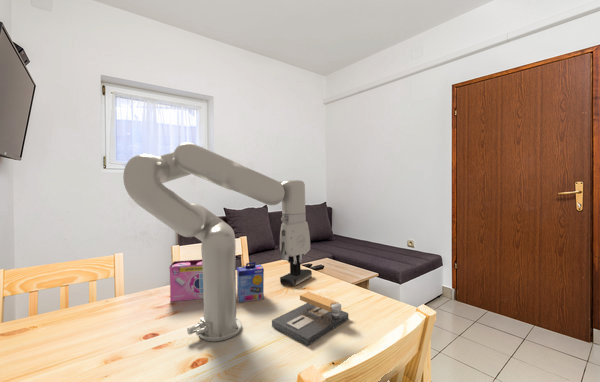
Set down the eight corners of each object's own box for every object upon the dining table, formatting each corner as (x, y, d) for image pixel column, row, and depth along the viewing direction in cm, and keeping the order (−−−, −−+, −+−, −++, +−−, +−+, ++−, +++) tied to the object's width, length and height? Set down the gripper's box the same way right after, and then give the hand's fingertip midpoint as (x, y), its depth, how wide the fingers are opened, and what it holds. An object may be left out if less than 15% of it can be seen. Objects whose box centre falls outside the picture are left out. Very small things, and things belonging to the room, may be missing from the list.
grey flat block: (307, 346, 75) (307, 331, 75) (271, 326, 85) (271, 313, 85) (348, 319, 89) (348, 307, 89) (313, 305, 99) (313, 294, 99)
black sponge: (293, 288, 116) (293, 280, 116) (278, 284, 121) (278, 276, 120) (313, 277, 129) (313, 270, 129) (298, 274, 134) (298, 267, 134)
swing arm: (336, 314, 84) (336, 309, 84) (299, 299, 94) (299, 295, 94) (344, 309, 87) (344, 304, 87) (308, 296, 97) (308, 291, 97)
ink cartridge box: (238, 303, 102) (238, 264, 101) (236, 297, 107) (236, 261, 106) (264, 299, 105) (264, 262, 105) (261, 293, 110) (260, 258, 110)
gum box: (234, 288, 116) (234, 256, 116) (234, 295, 108) (234, 262, 108) (174, 294, 111) (173, 261, 110) (169, 302, 103) (168, 266, 103)
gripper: (285, 222, 80) (286, 284, 80) (317, 216, 91) (319, 271, 91) (268, 220, 85) (270, 278, 85) (301, 215, 96) (302, 267, 96)
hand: (295, 274), depth 88 cm, fingers closed
